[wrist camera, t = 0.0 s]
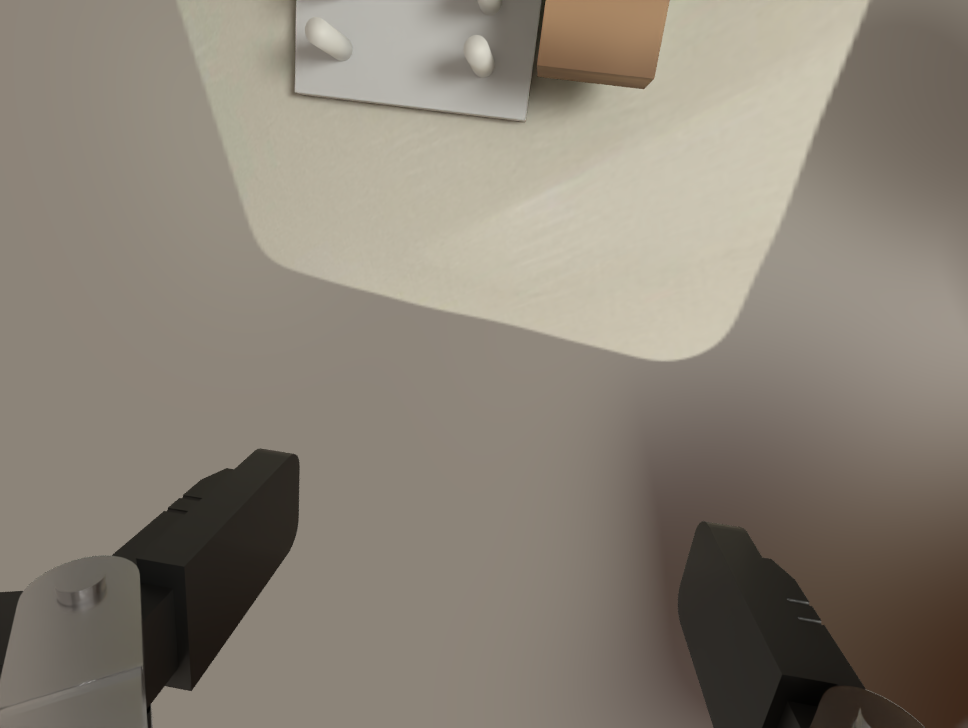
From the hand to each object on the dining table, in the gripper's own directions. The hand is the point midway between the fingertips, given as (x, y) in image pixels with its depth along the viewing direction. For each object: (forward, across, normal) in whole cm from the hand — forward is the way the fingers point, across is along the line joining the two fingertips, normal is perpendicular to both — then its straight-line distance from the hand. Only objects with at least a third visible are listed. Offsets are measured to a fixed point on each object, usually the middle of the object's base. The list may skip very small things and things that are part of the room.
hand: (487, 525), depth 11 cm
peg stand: (+29, +9, -15) cm, 34 cm away
